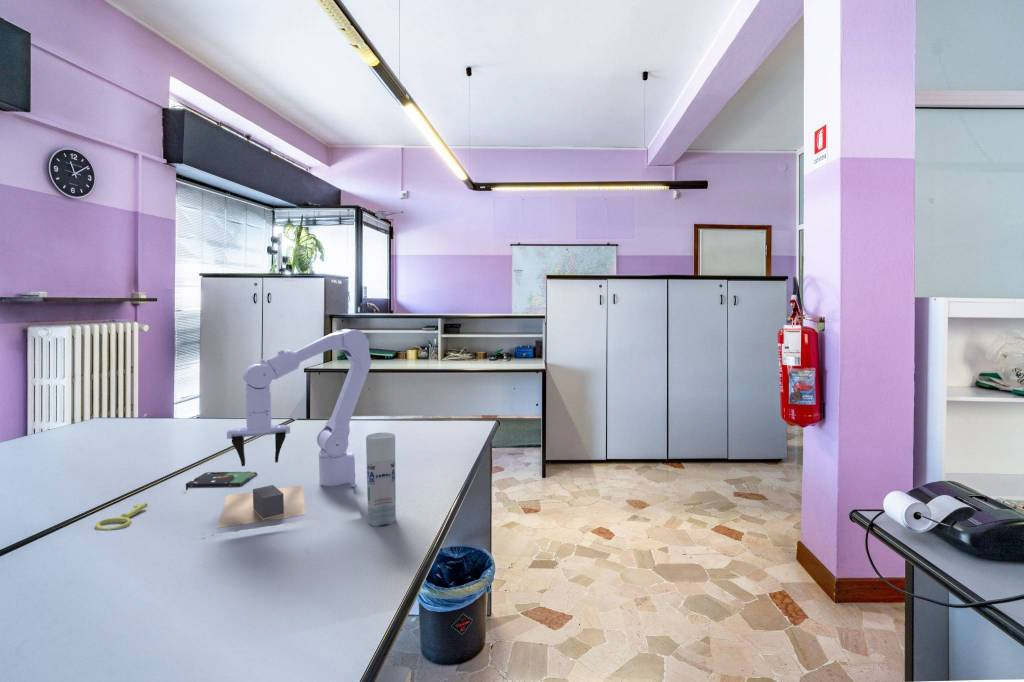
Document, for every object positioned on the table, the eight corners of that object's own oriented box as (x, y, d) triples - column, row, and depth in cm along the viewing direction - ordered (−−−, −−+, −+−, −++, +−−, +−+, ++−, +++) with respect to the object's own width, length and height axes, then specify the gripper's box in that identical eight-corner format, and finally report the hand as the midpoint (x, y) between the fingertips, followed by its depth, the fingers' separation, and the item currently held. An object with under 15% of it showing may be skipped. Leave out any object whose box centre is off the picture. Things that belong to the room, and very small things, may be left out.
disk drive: (185, 494, 138) (241, 492, 139) (184, 483, 138) (241, 482, 138) (205, 481, 148) (258, 479, 149) (205, 471, 148) (258, 470, 149)
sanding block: (273, 505, 125) (272, 484, 124) (283, 514, 119) (283, 493, 118) (253, 509, 122) (252, 489, 121) (263, 519, 116) (262, 498, 115)
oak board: (302, 489, 139) (302, 485, 139) (306, 519, 119) (306, 514, 119) (227, 499, 132) (226, 495, 132) (217, 533, 112) (217, 527, 112)
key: (149, 509, 126) (148, 501, 126) (127, 530, 114) (126, 521, 114) (114, 513, 124) (114, 504, 124) (88, 534, 112) (88, 524, 112)
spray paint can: (365, 517, 120) (364, 434, 119) (393, 513, 123) (392, 431, 122) (369, 528, 114) (367, 440, 113) (398, 523, 117) (397, 437, 116)
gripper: (289, 406, 138) (290, 456, 138) (227, 410, 132) (229, 462, 132) (289, 410, 131) (291, 463, 132) (225, 415, 125) (227, 470, 126)
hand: (260, 463), depth 132 cm, fingers open, 7 cm apart
